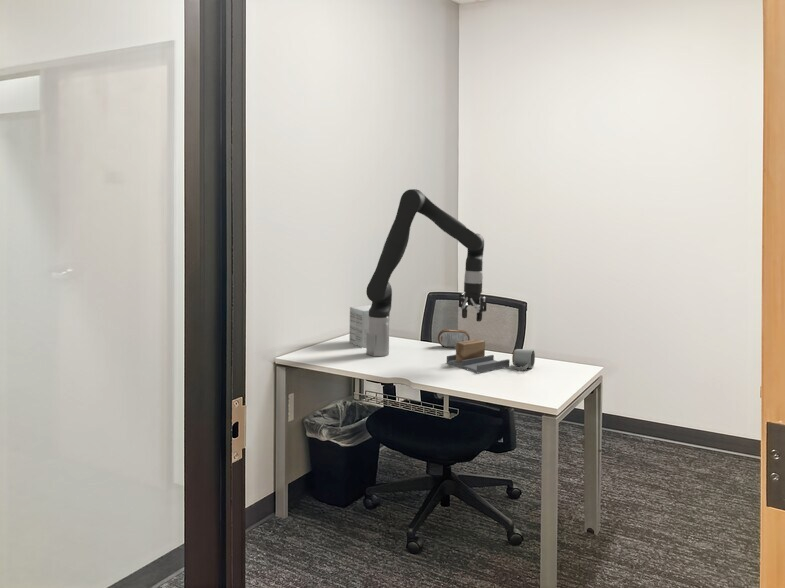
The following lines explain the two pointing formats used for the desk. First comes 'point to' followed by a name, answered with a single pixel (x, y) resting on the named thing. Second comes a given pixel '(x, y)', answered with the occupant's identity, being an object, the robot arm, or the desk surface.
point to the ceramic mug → (523, 359)
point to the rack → (479, 363)
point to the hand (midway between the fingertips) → (471, 319)
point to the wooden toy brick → (470, 349)
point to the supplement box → (359, 325)
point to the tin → (452, 337)
